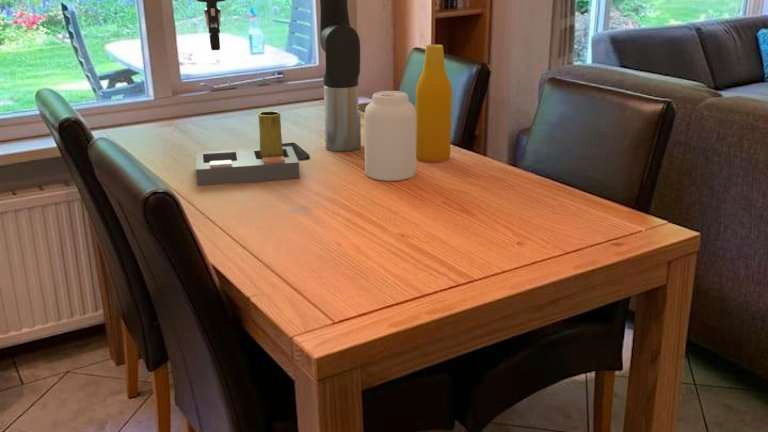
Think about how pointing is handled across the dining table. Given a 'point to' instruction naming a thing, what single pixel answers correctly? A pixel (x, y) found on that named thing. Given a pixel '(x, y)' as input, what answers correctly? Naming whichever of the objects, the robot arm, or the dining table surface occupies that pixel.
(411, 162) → the white jar
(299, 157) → the phone
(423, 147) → the beer bottle
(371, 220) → the dining table surface
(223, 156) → the socket block
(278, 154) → the vase
